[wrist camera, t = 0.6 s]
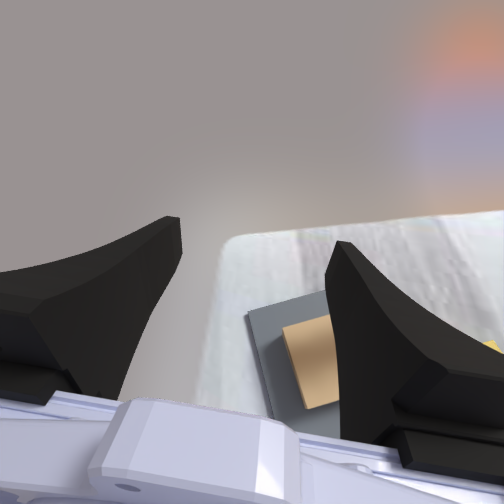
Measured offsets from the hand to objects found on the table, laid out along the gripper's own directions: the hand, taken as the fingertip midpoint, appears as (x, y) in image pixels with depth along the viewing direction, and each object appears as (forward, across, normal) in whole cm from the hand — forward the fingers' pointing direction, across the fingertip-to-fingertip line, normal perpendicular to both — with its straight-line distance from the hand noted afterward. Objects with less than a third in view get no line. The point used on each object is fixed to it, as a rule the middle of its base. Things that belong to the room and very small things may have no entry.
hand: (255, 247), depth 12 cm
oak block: (+6, -8, +16) cm, 19 cm away
